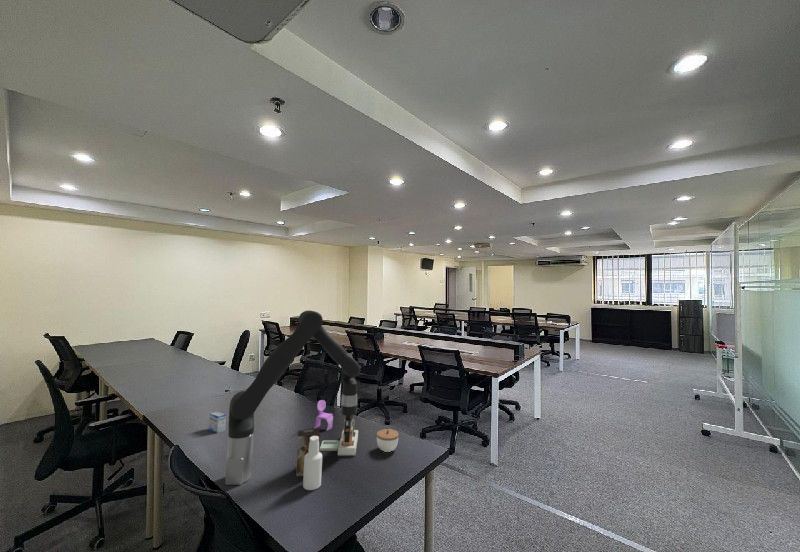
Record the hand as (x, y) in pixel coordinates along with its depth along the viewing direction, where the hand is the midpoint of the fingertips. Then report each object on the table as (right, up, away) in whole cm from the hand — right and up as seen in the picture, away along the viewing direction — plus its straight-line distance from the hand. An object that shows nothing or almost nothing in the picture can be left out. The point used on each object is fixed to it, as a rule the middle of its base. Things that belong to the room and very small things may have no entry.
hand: (347, 438), depth 151 cm
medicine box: (-74, -6, +19) cm, 76 cm away
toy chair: (-18, -8, +25) cm, 32 cm away
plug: (0, -5, 0) cm, 5 cm away
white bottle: (-9, -4, -28) cm, 30 cm away
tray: (-9, -6, +3) cm, 12 cm away
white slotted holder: (0, -7, +5) cm, 8 cm away
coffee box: (-14, -5, -18) cm, 23 cm away
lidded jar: (+19, -7, +3) cm, 20 cm away
